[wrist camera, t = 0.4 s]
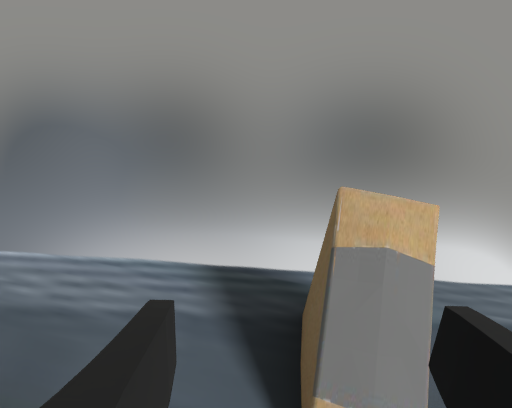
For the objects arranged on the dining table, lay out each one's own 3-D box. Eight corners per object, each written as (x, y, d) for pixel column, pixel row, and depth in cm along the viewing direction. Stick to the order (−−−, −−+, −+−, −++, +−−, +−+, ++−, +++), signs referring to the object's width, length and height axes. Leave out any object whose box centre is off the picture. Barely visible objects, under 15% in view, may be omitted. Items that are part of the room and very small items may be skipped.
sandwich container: (298, 485, 24) (366, 330, 16) (299, 312, 37) (337, 184, 30) (428, 512, 23) (556, 367, 16) (382, 328, 37) (441, 203, 29)
